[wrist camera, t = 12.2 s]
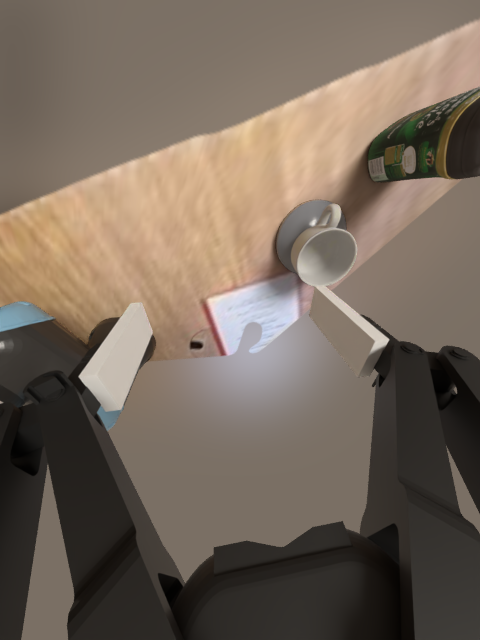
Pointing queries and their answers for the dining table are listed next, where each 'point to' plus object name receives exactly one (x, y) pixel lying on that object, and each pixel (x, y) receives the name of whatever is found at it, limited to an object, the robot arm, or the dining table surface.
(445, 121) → the coffee jar
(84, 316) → the dining table surface
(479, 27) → the dining table surface
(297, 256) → the teacup
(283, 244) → the charcoal plate
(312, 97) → the dining table surface
